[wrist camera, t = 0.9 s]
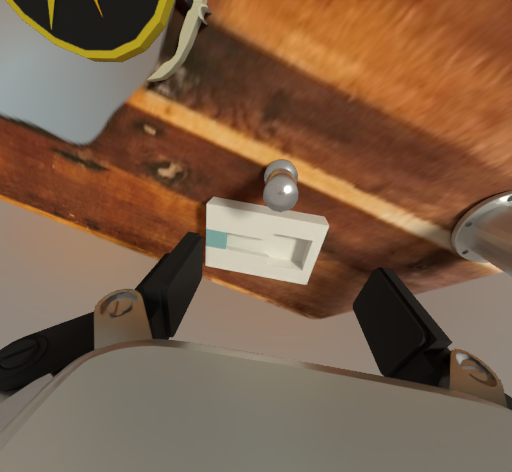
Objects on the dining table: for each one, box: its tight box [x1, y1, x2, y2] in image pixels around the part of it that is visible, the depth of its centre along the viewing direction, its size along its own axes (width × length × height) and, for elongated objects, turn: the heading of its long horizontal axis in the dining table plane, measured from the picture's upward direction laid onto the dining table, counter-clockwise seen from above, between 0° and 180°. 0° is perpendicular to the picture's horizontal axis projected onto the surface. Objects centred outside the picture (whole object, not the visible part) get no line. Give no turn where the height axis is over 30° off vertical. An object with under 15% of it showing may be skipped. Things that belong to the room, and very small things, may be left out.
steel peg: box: [263, 159, 298, 212], centre depth 26 cm, size 5×5×10 cm
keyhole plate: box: [206, 197, 329, 285], centre depth 35 cm, size 20×13×4 cm, turn 81°
